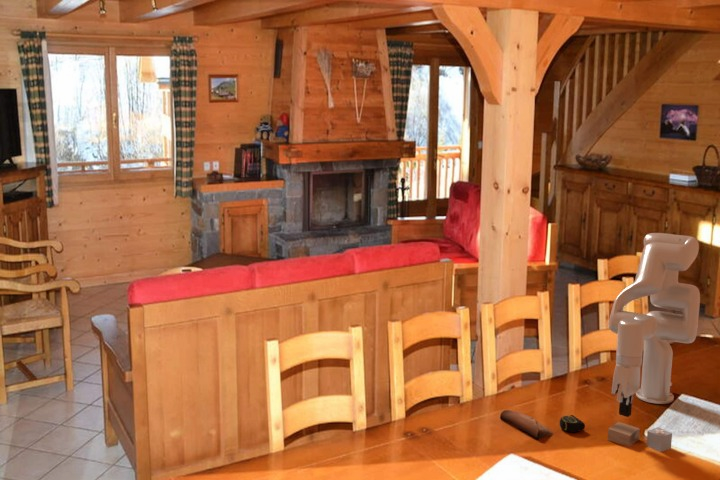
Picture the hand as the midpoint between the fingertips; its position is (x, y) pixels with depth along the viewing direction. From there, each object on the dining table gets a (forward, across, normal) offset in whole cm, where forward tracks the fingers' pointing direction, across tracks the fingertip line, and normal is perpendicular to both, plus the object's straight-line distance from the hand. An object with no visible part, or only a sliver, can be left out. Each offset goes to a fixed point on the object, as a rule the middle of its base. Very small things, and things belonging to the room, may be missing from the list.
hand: (624, 414), depth 235 cm
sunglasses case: (+9, +13, -27) cm, 31 cm away
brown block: (+9, 0, 0) cm, 9 cm away
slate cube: (+8, -3, +10) cm, 14 cm away
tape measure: (+9, +4, -16) cm, 18 cm away
